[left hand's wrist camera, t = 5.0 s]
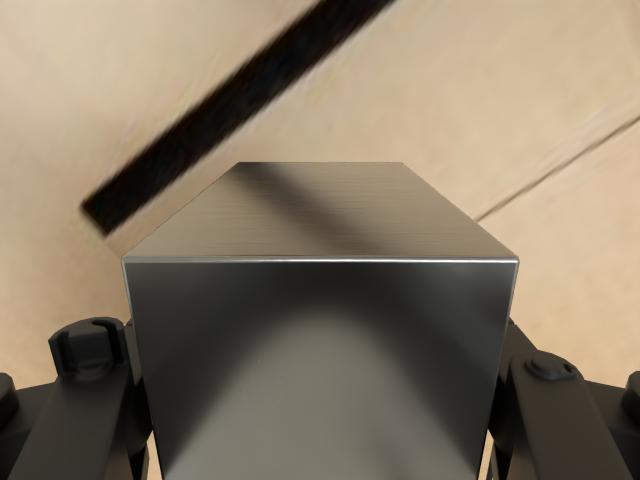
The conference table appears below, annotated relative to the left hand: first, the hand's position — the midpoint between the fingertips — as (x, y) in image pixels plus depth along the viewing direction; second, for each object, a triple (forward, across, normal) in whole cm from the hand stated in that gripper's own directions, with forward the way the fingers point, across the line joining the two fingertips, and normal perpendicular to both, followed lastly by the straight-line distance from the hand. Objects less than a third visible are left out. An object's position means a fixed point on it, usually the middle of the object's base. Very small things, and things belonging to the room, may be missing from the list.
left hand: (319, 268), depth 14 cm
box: (+1, 0, -7) cm, 7 cm away
